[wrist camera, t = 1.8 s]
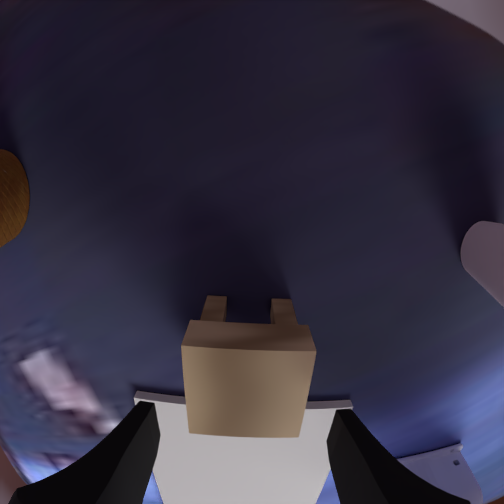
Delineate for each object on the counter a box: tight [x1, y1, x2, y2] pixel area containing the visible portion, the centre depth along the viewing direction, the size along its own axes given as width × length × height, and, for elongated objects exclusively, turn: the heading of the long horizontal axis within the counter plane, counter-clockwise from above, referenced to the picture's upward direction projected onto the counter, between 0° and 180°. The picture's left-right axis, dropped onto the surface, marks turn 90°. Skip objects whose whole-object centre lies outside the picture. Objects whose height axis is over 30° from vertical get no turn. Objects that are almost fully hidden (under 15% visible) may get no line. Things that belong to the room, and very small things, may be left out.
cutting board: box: [134, 391, 353, 504], centre depth 23 cm, size 15×19×1 cm
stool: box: [181, 295, 316, 438], centre depth 16 cm, size 5×5×6 cm
